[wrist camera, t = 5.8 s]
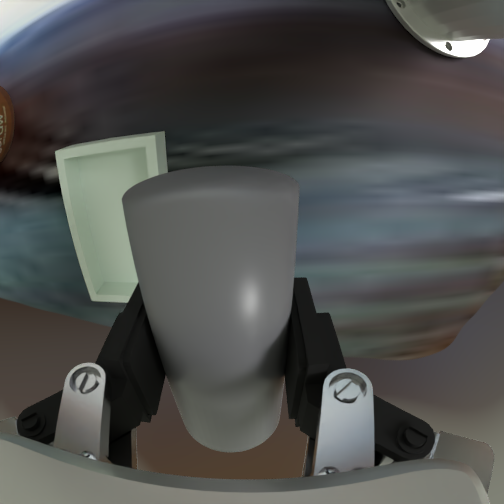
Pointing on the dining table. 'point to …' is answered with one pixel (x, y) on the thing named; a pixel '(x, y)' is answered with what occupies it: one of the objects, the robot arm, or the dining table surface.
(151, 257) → the gray cylinder
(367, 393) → the robot arm
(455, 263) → the dining table surface
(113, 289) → the sage trough
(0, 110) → the food container
